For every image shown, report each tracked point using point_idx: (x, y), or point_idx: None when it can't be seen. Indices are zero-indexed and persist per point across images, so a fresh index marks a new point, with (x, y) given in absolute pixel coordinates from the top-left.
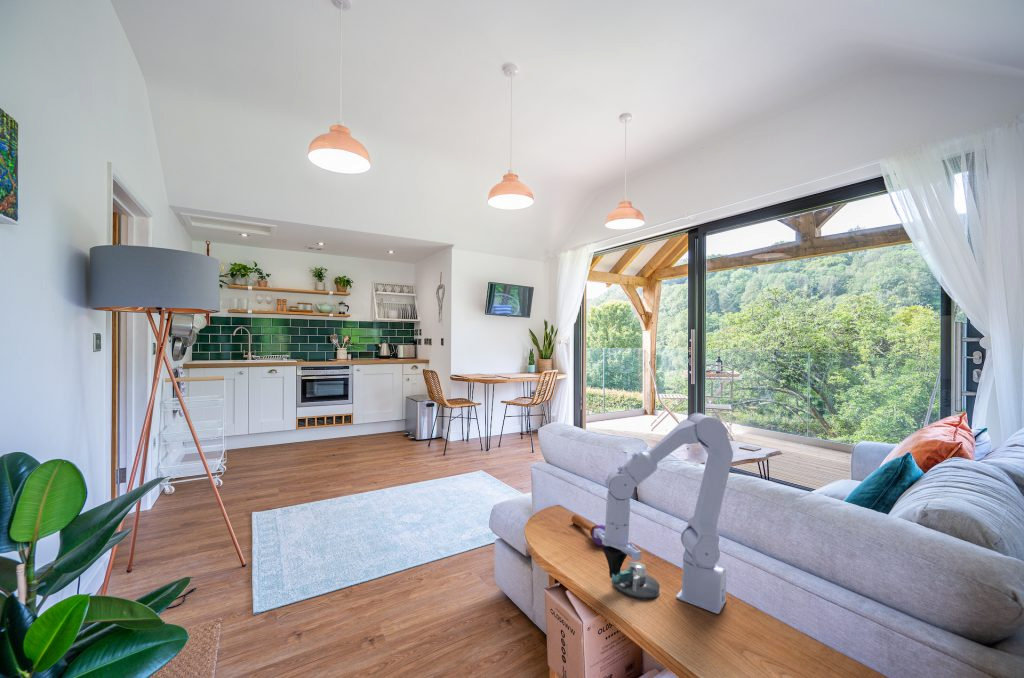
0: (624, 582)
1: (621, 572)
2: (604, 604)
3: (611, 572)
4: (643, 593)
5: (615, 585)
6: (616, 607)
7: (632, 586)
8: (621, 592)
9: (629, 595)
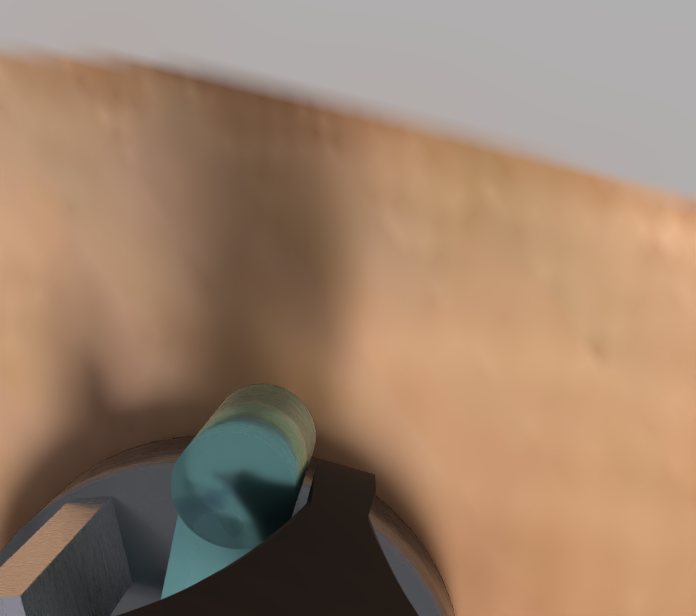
0: None
1: None
2: (230, 90)
3: (319, 492)
4: (13, 539)
5: None
6: (117, 155)
7: None
8: None
9: (152, 449)
